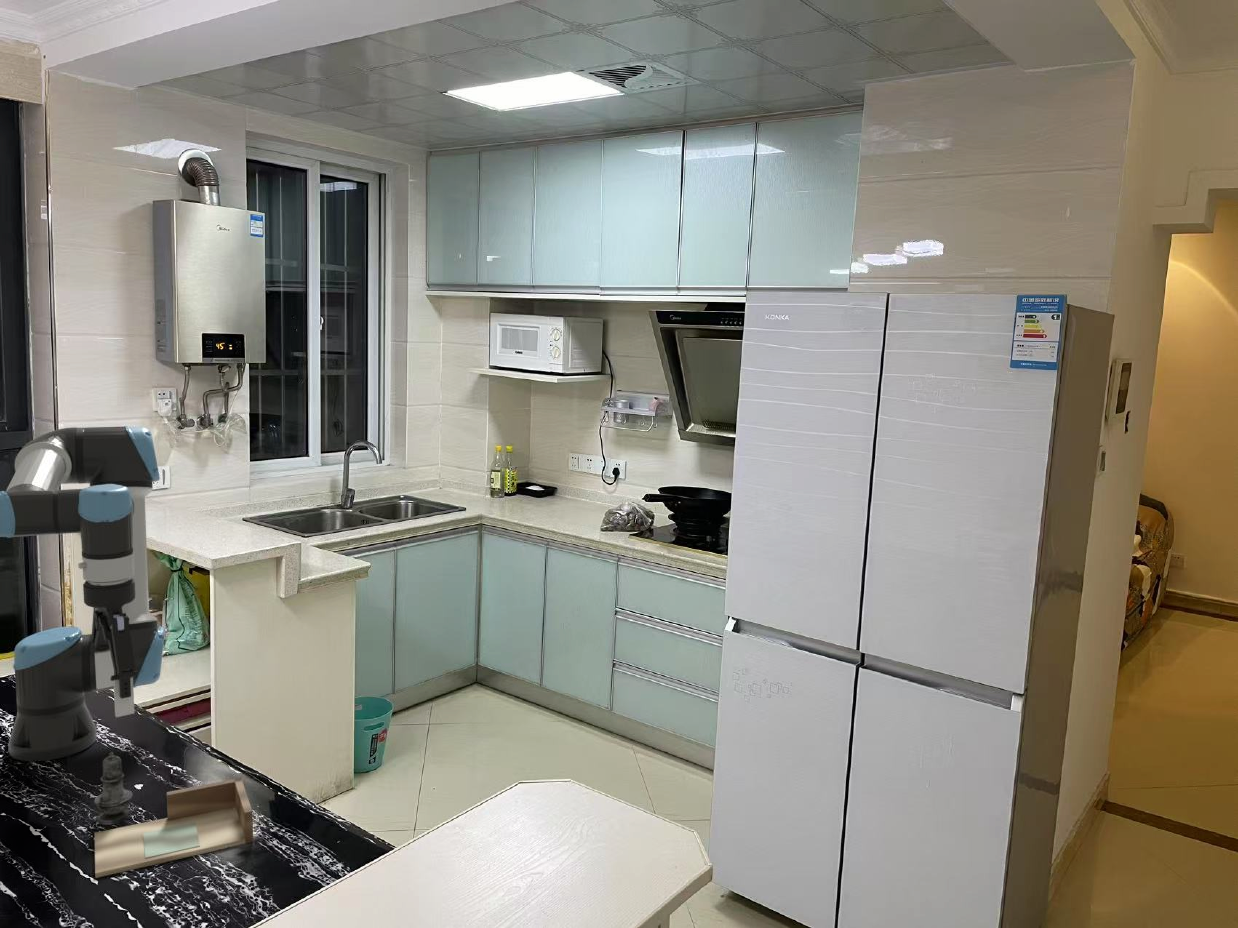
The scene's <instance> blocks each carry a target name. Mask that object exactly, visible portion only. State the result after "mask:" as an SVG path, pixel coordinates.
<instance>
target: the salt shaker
mask: <svg viewBox="0 0 1238 928" xmlns="http://www.w3.org/2000/svg"><path fill="white" fill-rule="evenodd" d="M124 777H125V773H123V771H122V759H121V757H120V756H118V755H114V752H113V751H110V753H109V755H108V756H106V757H105V758H103V760H102V776H101V777H100V781H101V782H102V793H101V794H99V795H97V796H96V797H95V798H94V801H93V803H94V805H96V808H97V810H98V811H99V812H100V814H99V815H98V816H97V818H96V821H97V822H98V823H99V824H100V825H108V826H110V825H115V824H119V823H122V822H124V821H127V820H128V819H129V818H130V817H131V815H132V810H130V809H129V808H128V807H129V806H130V804H131V799H132V797H133V792H132V791H131V790H129V789H125V788H124V784H123V782H124V780H123V778H124Z"/></svg>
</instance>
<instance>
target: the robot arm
mask: <svg viewBox="0 0 1238 928" xmlns="http://www.w3.org/2000/svg"><path fill="white" fill-rule="evenodd" d="M16 455H17V456H15V457H16V458H15V460H14V470H15V473H14V475H13V476H12V479H11V481H10V482H9V484H8V486H7V488H6V490H0V538H1V537H2V538H5V537H6V538H7V539H10V538H15V537H29V536H31V537H32V536H46V535H47V536H48V535H65V534H80V541H81V543H80V544H81V560H82V562H79V563H78V564H77V566H78V569H81V570H82V579H83V580H84V581H85V582H84V583H83V584H82V589H83V592H82V593H83V603H84V604H85V605H86V606H87V607H91V608H93V612H92V613H93V614H92V625H91V626H92V627H91V633H88V634H83V631H82V630H81V628H80V627H77V626H60V627H59V626H58V627H54V628H49V629H45V630H42V631H39V632H35V633H34V634H31V635H29V636H26V637H25V638H23V639H22V640H20V641H19V642H18V643H17V644H16V645H15V648H14V651H13V652H14V654H13V655H14V656H13V657H14V658H13V665H12V668H13V670H14V677H15V679H14V681H15V696H16V711H17V714H16V717H15V721H14V723H13V727H12V730H11V733H10V737H9V739H8V752H9V753H8V754H9V756H10V757H12V758H13V759H15V760H19V761H24V762H43V761H51V760H57V759H61V758H65V757H68V756H72V755H75V754H78V753H79V752H82V751H84V750H86V749H88V748H90V747H91V746H92V745H93V744H94V743H95V742H96V740H97V726H96V724H95V722H94V719H93V716H92V715H91V713H90V710H89V708H88V707H87V705H86V699H85V698H86V697H85V693H94V692H100V691H110V690H113V697H114V717H115V718H119V717H120V718H121V717H123V716H128V715H133V714H135V697H134V696H135V695H134V694H135V693H134V692H135V691H134V689H135V688H137V687H142V686H147V685H153V684H155V683H156V682H158V680H160V676H161V672H162V671H161V670H162V662H163V653H164V644H165V643H164V642H165V634H166V628H165V627H164V626H161V625H159V626H158V618H157V617H156V616H154V614H152V613H151V612H150V607H149V606H150V604H149V599H150V598H149V579H148V576H149V575H148V572H149V571H148V547H147V546H148V545H147V525H146V524H147V520H146V519H147V517H146V497H147V496H148V495H149V494H150V493H151V492H152V491H153V482H154V483H155V482H157V481H160V479H161V477H160V473H159V467H158V460H157V455H156V450H155V445H154V439H153V434H152V432H151V431H150V430H149V429H148V428H147V427H142V426H128V425H124V426H99V427H98V426H97V427H96V426H92V427H90V426H89V427H74V426H73V427H64V428H60V429H55V430H52V431H49V432H46V433H44V434H42V435H40V436H37V437H35V438H34V439H31V440H30V441H29V442H27V443H26V444H25V445H24V446H22V447H21V449H20V450H19V452H18V453H17V454H16ZM65 484H67V485H68V484H71V485H72V484H73V485H74V484H79V485H83V484H89V486H88V487H84V488H74V489H73V488H70V489H68V488H67V489H60V486H61V485H65Z"/></svg>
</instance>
